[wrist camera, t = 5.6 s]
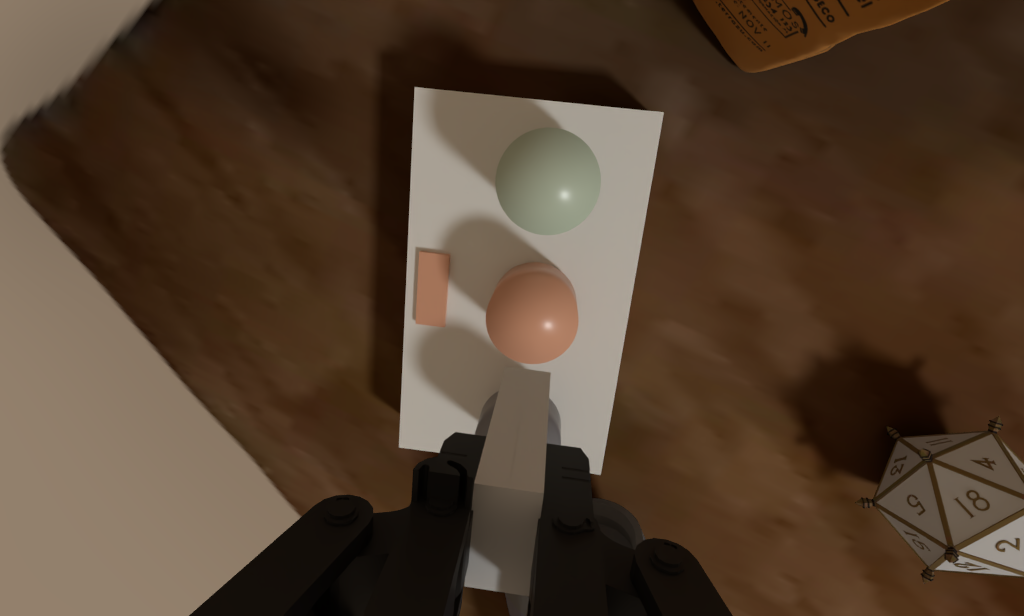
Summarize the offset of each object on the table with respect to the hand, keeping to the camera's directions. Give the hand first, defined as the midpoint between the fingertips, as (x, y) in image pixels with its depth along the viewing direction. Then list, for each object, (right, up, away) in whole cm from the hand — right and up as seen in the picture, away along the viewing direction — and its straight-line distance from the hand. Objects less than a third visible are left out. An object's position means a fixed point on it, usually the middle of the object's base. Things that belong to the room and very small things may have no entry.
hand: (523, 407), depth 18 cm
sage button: (+1, +9, +8) cm, 12 cm away
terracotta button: (+1, +4, +11) cm, 11 cm away
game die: (+24, -6, +15) cm, 29 cm away
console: (0, +5, +14) cm, 15 cm away
